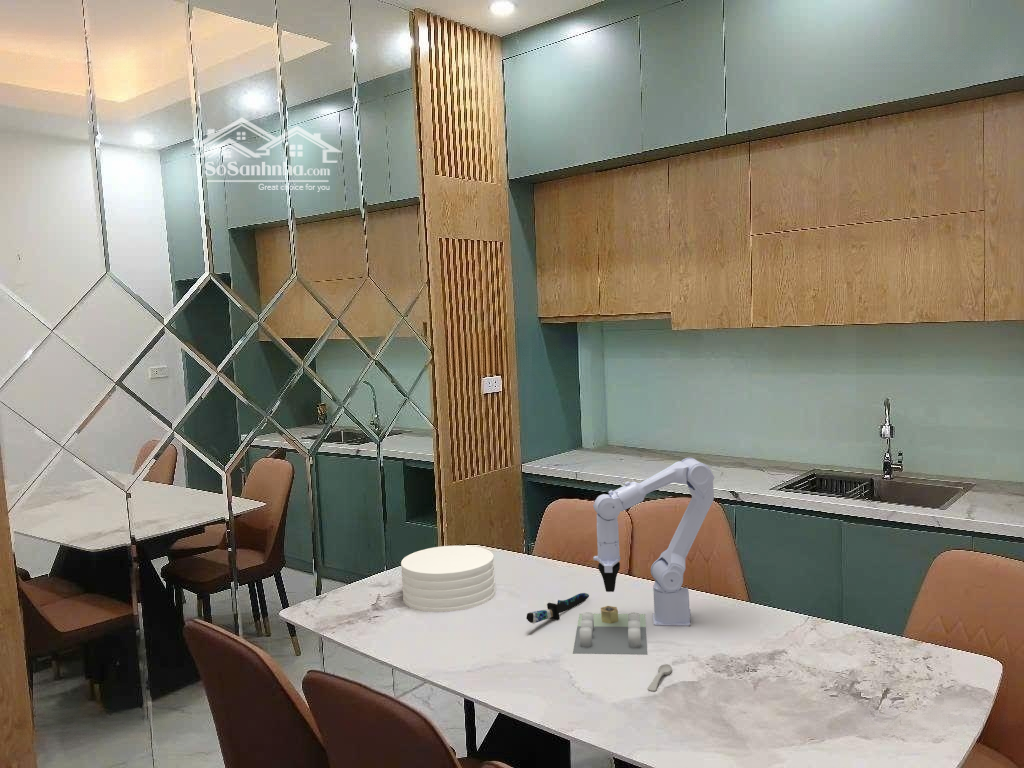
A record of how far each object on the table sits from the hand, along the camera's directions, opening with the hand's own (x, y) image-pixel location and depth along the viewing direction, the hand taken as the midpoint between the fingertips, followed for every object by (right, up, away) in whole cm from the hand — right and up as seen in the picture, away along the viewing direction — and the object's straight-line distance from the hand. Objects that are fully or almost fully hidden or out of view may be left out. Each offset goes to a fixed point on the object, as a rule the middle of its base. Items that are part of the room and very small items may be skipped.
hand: (610, 590), depth 204 cm
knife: (-12, -10, +9) cm, 18 cm away
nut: (0, -9, +4) cm, 10 cm away
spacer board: (0, -10, -5) cm, 11 cm away
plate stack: (-45, -10, +31) cm, 55 cm away
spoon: (+7, -12, -32) cm, 34 cm away
